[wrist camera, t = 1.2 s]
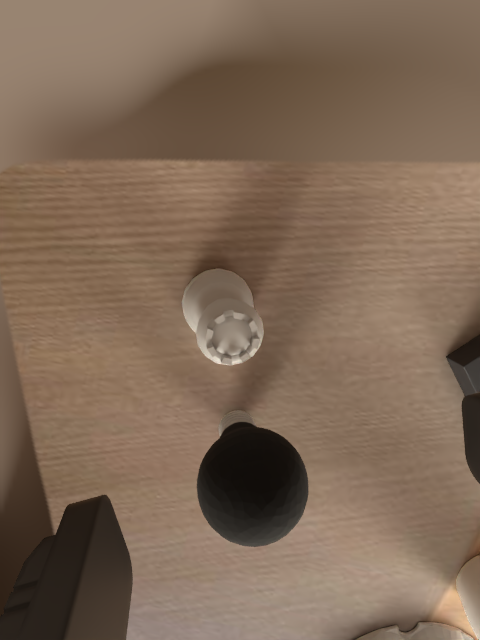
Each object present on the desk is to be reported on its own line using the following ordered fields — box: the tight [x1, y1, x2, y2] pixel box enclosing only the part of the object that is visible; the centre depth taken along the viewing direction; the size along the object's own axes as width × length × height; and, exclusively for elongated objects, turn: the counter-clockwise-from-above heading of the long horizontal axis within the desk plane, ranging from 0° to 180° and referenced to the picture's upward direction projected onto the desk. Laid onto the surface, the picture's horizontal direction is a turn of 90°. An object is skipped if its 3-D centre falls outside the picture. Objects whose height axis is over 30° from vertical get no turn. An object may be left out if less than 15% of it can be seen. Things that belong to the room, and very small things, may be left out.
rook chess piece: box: [182, 268, 264, 365], centre depth 23 cm, size 4×4×8 cm
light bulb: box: [197, 410, 308, 547], centre depth 24 cm, size 6×6×10 cm
